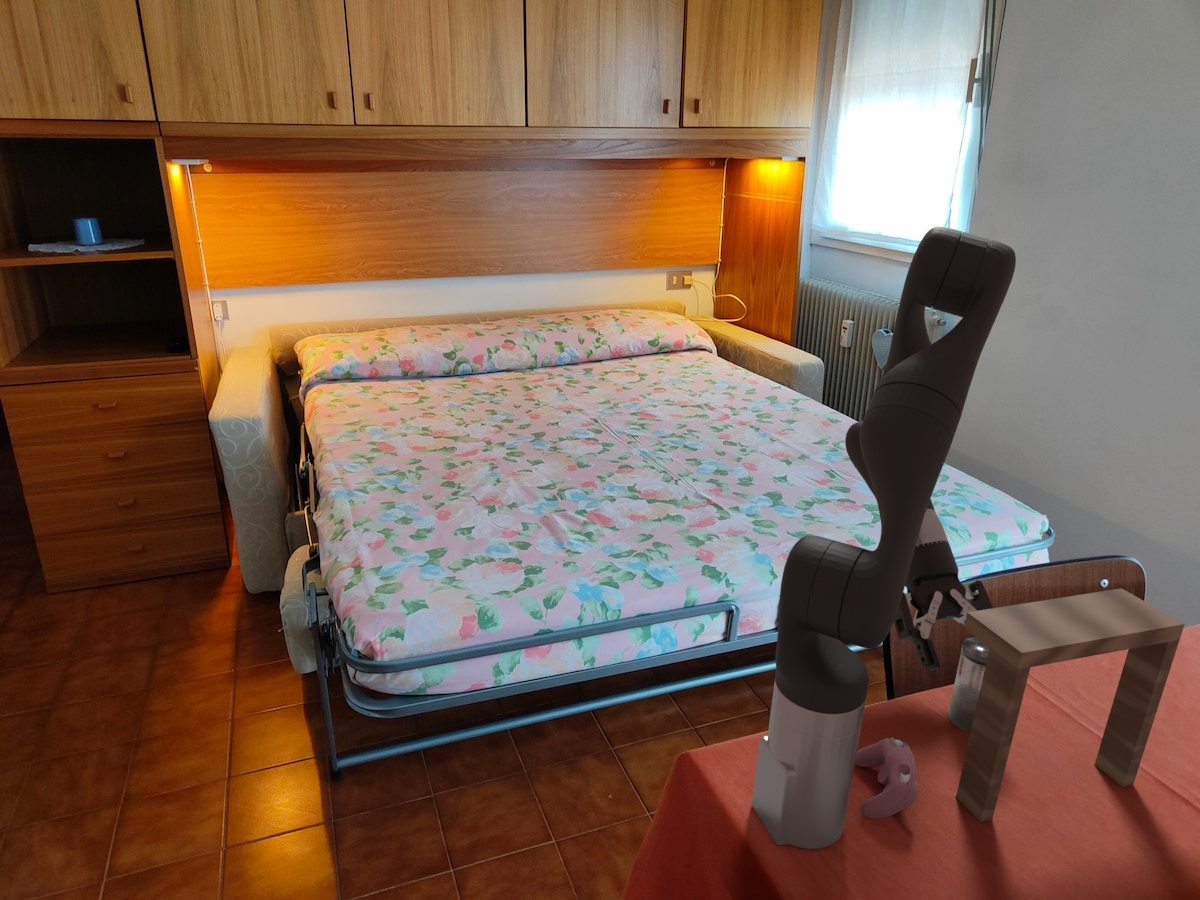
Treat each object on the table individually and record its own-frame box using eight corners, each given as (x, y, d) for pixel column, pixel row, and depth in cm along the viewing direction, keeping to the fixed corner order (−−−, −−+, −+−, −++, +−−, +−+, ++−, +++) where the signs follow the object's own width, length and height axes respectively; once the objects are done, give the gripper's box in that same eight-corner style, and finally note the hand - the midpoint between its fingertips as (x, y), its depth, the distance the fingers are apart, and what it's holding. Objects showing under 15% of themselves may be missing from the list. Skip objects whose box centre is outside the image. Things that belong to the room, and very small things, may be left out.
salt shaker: (965, 735, 105) (981, 662, 101) (939, 711, 109) (954, 640, 105) (996, 728, 106) (1013, 656, 102) (969, 705, 110) (985, 635, 107)
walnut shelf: (980, 822, 91) (1021, 652, 83) (933, 772, 98) (967, 612, 90) (1133, 784, 97) (1184, 623, 90) (1078, 740, 104) (1121, 588, 97)
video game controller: (892, 837, 91) (932, 796, 88) (857, 816, 91) (895, 775, 88) (881, 774, 100) (916, 736, 97) (848, 755, 100) (883, 717, 97)
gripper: (890, 544, 109) (932, 667, 103) (979, 533, 113) (1024, 651, 107) (862, 561, 116) (899, 677, 110) (947, 550, 120) (987, 662, 114)
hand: (961, 664), depth 108 cm, fingers open, 8 cm apart
